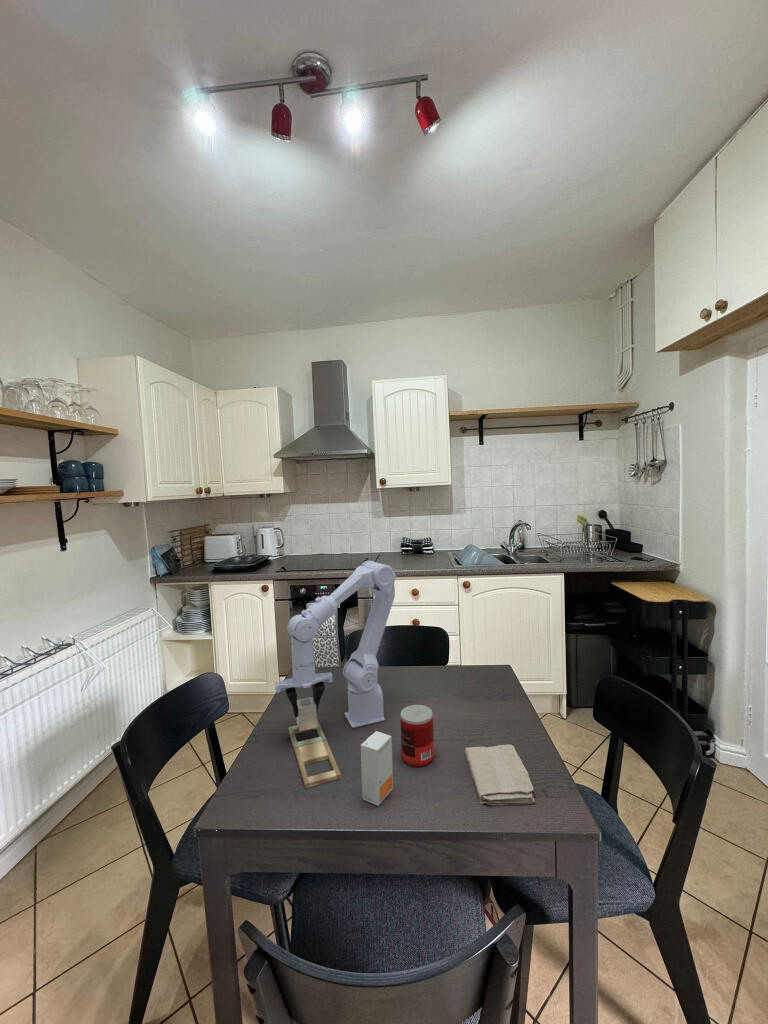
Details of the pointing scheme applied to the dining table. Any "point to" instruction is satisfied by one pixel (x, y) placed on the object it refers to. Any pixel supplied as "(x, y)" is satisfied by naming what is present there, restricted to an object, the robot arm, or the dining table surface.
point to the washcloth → (499, 775)
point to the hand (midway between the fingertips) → (305, 713)
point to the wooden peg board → (313, 756)
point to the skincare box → (376, 767)
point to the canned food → (417, 735)
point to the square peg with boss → (306, 714)
